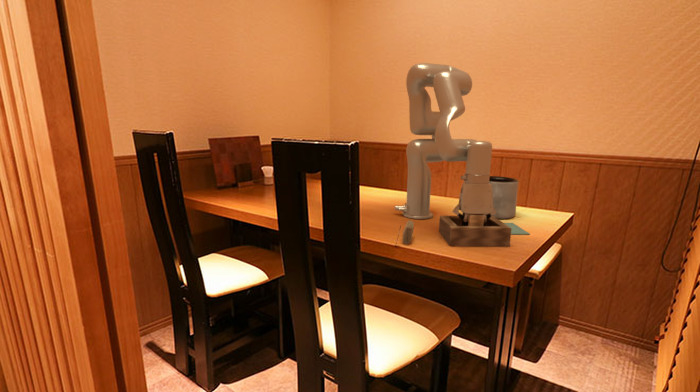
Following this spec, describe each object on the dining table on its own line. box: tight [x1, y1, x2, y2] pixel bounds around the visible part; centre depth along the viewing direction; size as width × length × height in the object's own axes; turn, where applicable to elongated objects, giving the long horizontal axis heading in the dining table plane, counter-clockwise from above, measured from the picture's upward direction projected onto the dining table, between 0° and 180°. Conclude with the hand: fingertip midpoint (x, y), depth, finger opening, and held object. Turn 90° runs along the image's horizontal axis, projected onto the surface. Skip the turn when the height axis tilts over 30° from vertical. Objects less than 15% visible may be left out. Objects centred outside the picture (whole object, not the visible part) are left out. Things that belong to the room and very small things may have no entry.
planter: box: [489, 175, 519, 220], centre depth 155 cm, size 16×16×16 cm
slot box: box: [438, 214, 512, 248], centre depth 124 cm, size 19×15×6 cm
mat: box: [503, 222, 531, 236], centre depth 137 cm, size 12×14×1 cm
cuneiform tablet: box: [394, 219, 415, 248], centre depth 121 cm, size 7×4×12 cm
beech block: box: [467, 214, 484, 226], centre depth 124 cm, size 4×6×9 cm
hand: (472, 232), depth 125 cm, fingers closed on beech block, 4 cm apart
